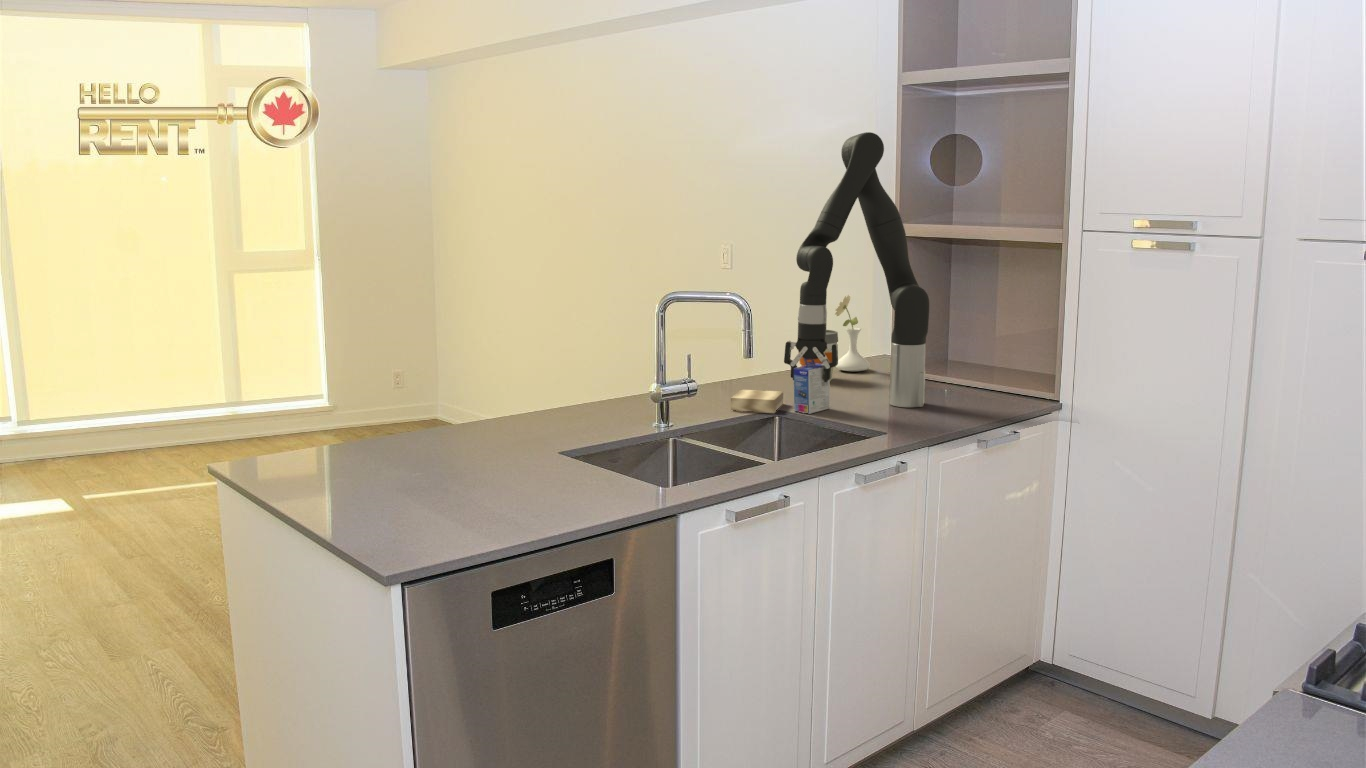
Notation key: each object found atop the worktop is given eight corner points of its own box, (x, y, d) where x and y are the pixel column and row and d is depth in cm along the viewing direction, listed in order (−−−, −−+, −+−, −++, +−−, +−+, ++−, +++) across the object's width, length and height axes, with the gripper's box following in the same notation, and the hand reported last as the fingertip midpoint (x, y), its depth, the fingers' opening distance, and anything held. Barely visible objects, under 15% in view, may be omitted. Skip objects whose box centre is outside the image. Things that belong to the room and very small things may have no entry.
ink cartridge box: (813, 406, 290) (814, 354, 287) (830, 408, 286) (831, 356, 283) (792, 411, 282) (793, 358, 280) (809, 414, 279) (810, 361, 276)
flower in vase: (851, 366, 351) (853, 291, 347) (877, 371, 342) (879, 294, 338) (824, 370, 343) (825, 294, 339) (850, 375, 334) (851, 297, 330)
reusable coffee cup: (819, 385, 319) (820, 336, 317) (788, 379, 329) (789, 332, 326) (845, 379, 328) (846, 332, 325) (814, 374, 337) (815, 328, 334)
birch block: (783, 405, 292) (783, 391, 292) (774, 414, 281) (774, 399, 280) (741, 403, 296) (741, 389, 295) (730, 412, 285) (730, 397, 284)
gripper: (841, 320, 281) (838, 380, 284) (788, 318, 286) (787, 376, 289) (836, 324, 274) (834, 385, 277) (783, 321, 279) (781, 381, 282)
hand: (810, 380), depth 283 cm, fingers open, 8 cm apart
